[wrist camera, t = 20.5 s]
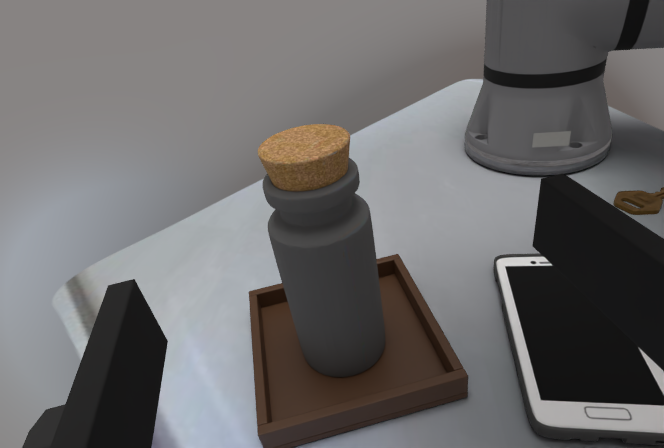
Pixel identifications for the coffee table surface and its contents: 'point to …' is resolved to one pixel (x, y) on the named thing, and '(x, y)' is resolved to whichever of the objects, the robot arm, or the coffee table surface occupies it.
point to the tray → (353, 391)
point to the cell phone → (576, 359)
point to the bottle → (324, 248)
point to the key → (639, 201)
